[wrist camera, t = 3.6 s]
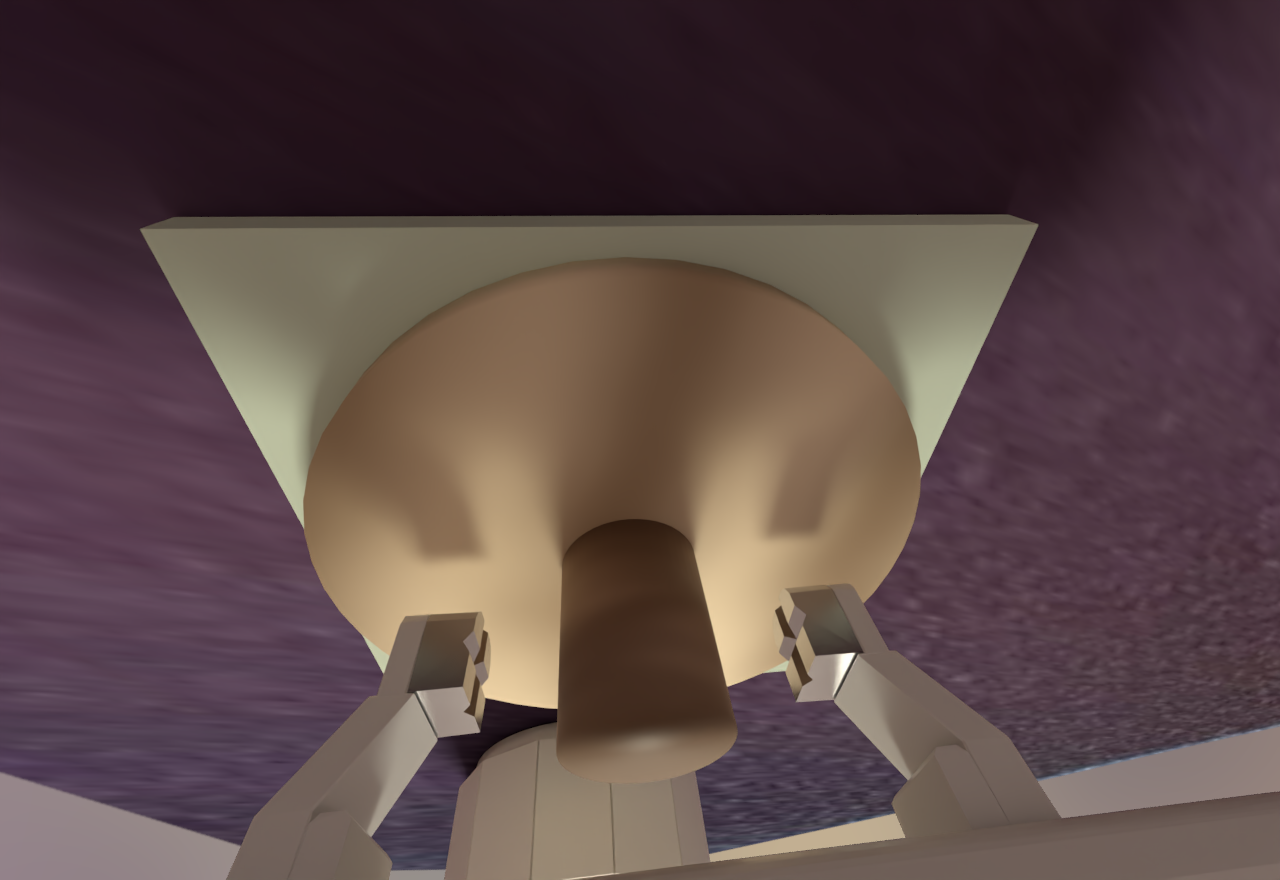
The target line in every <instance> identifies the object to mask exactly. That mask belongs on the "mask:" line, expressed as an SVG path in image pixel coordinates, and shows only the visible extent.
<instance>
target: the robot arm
mask: <svg viewBox="0 0 1280 880" xmlns="http://www.w3.org/2000/svg"><path fill="white" fill-rule="evenodd" d="M779 601H780V604H781V606H780V607H779V608H777V609H776V610H775V612H774V616H773V634H774V639H775V643H776V646H777V649H778V652H779V653H780V654H781V655H782V656H783V657H784V658H785V659H787V660H788V661H789V663H788V666H787V669H786V675H787V678H788V680H789V683H790V686H791V689H792V692H793V695H794V697H795V700H796V702H805V701H820V700H835V701H834V702H835V703H836V704H837V705H838V707H839V708H840V709H841V710H842V711H843V712H844V713H845V714H846V715H847V716H848V717H849V718H850V719H851V720H852V721H853V722H854V723H855V725H856V726H857V727H858V728H859V729H860V730H861V731H862V732H863V733H864V734H865V735H866V736H867V737H868V738H869V739H870V740H871V742H872V743H873V744H874V745H875V746H876V747H877V748H878V749H879V750H880V751H881V752H882V753H883V754H884V755H885V756H886V757H887V758H888V760H889V761H890V762H891V763H892V764H893V765H894V766H895V767H896V768H897V769H898V770H899V771H900V772H901V773H902V774H903V775H904V777H905V778H906V779H907V780H908V781H907V782H906V783H905V785H904V786H903V787H902V788H901V789H900V791H899V792H898V793H897V794H896V795H895V797H894V799H893V802H892V806H893V808H894V811H895V813H896V815H897V818H898V820H899V823H900V825H901V827H902V830H903V832H904V834H905V837H906V838H901V839H893V840H885V841H877V842H869V843H862V844H854V845H845V846H837V847H829V848H821V849H813V850H805V851H797V852H789V853H781V854H773V855H765V856H757V857H749V858H741V859H732V860H724V861H716V862H708V863H700V864H692V865H684V866H676V867H668V868H660V869H652V870H644V871H636V872H628V873H620V874H612V875H604V876H596V877H588V878H580V879H572V880H1280V792H1270V793H1262V794H1254V795H1246V796H1238V797H1230V798H1222V799H1214V800H1206V801H1198V802H1191V803H1183V804H1174V805H1167V806H1158V807H1150V808H1142V809H1134V810H1126V811H1118V812H1110V813H1102V814H1094V815H1086V816H1078V817H1070V818H1061V817H1060V815H1059V814H1058V812H1057V811H1056V809H1055V808H1054V806H1053V805H1052V803H1051V802H1050V800H1049V798H1048V797H1047V795H1046V794H1045V792H1044V791H1043V789H1042V788H1041V786H1040V785H1039V783H1038V781H1037V780H1036V778H1035V777H1034V775H1033V774H1032V772H1031V771H1030V769H1029V768H1028V766H1027V765H1026V763H1025V761H1024V760H1023V758H1022V757H1021V755H1020V754H1019V752H1018V751H1017V749H1016V748H1015V746H1014V745H1013V743H1012V741H1011V740H1010V738H1009V737H1008V736H1006V735H1005V734H1004V733H1002V732H1001V731H1000V730H998V729H997V728H996V727H995V726H993V725H992V724H991V723H989V722H988V721H987V720H985V719H984V718H983V717H982V716H980V715H979V714H978V713H976V712H975V711H974V710H972V709H971V708H970V707H969V706H967V705H966V704H965V703H963V702H962V701H961V700H959V699H958V698H957V697H956V696H954V695H953V694H952V693H950V692H949V691H948V690H946V689H945V688H944V687H942V686H941V685H940V684H939V683H937V682H936V681H935V680H933V679H932V678H931V677H929V676H928V675H927V674H926V673H924V672H923V671H922V670H920V669H919V668H918V667H916V666H915V665H914V664H913V663H911V662H910V661H909V660H907V659H906V658H905V657H903V656H902V655H901V654H900V653H898V652H897V651H889V650H888V648H887V646H886V644H885V642H884V641H883V639H882V637H881V635H880V633H879V632H878V630H877V628H876V626H875V624H874V622H873V621H872V619H871V617H870V615H869V613H868V612H867V610H866V608H865V606H864V604H863V602H862V601H861V599H860V597H859V595H858V593H857V592H856V590H855V588H854V587H853V586H852V585H851V584H847V583H844V584H834V585H815V586H804V587H793V588H784V589H783V590H781V592H780V595H779ZM484 621H485V620H484V617H483V614H482V611H479V612H463V613H447V614H427V615H414V616H405V618H404V619H403V621H402V622H401V624H400V626H399V629H398V632H397V635H396V638H395V641H394V644H393V648H392V651H391V654H390V657H389V660H388V663H387V666H386V669H385V672H384V675H383V678H382V681H381V684H380V687H379V690H378V693H377V696H371V697H368V698H367V699H366V700H365V701H364V702H363V703H362V704H361V705H360V707H359V708H358V709H357V710H356V711H355V712H354V713H353V714H352V715H351V716H350V717H349V718H348V719H347V720H346V721H345V722H344V723H343V724H342V725H341V726H340V727H339V729H338V730H337V731H336V732H335V733H334V734H333V735H332V736H331V737H330V738H329V739H328V740H327V741H326V742H325V743H324V744H323V745H322V746H321V747H320V748H319V749H318V750H317V752H316V753H315V754H314V755H313V756H312V757H311V758H310V759H309V760H308V761H307V762H306V763H305V764H304V765H303V766H302V767H301V768H300V769H299V770H298V771H297V772H296V774H295V775H294V776H293V777H292V778H291V779H290V780H289V781H288V782H287V783H286V784H285V785H284V786H283V787H282V788H281V789H280V790H279V791H278V792H277V793H276V794H275V796H274V797H273V798H272V799H271V800H270V801H269V802H268V803H267V804H266V805H265V806H264V807H263V808H262V809H261V810H260V811H259V812H258V813H257V814H256V815H255V816H254V818H253V820H252V822H251V825H250V827H249V829H248V832H247V834H246V836H245V838H244V841H243V843H242V845H241V847H240V850H239V852H238V854H237V856H236V859H235V861H234V863H233V866H232V868H231V870H230V872H229V875H228V877H227V879H226V880H389V876H390V871H391V867H392V861H391V860H390V858H389V856H388V855H387V854H386V853H385V851H384V850H383V849H382V848H381V847H380V846H379V845H378V844H377V843H376V842H375V841H374V840H373V839H372V838H371V836H372V835H373V834H374V832H375V831H376V829H377V828H378V826H379V825H380V823H381V822H382V821H383V819H384V818H385V816H386V815H387V813H388V812H389V810H390V809H391V807H392V806H393V805H394V803H395V802H396V800H397V799H398V797H399V796H400V794H401V793H402V791H403V790H404V789H405V787H406V786H407V784H408V783H409V781H410V780H411V778H412V777H413V775H414V774H415V773H416V771H417V770H418V768H419V767H420V765H421V764H422V762H423V761H424V760H425V758H426V757H427V755H428V754H429V752H430V751H431V749H432V748H433V746H434V745H435V744H436V742H437V738H439V737H447V736H455V735H463V734H471V733H479V732H480V730H481V724H482V718H483V711H484V705H485V696H484V693H483V690H482V687H481V686H482V685H483V684H484V683H485V681H486V680H487V679H488V678H489V671H490V663H491V645H490V638H489V634H488V632H486V631H484V630H483V627H484Z"/></svg>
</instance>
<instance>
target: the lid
mask: <svg viewBox="0 0 1280 880" xmlns="http://www.w3.org/2000/svg"><path fill="white" fill-rule="evenodd" d="M920 478H921V463H920V456H919V450H918V444H917V437H916V434H915V431H914V429H913V426H912V423H911V421H910V418H909V415H908V413H907V410H906V407H905V405H904V404H903V402H902V401H901V399H900V397H899V396H898V394H897V392H896V391H895V389H894V388H893V386H892V384H891V383H890V381H889V380H888V378H887V377H886V376H885V375H884V374H883V372H882V371H881V370H880V369H879V368H878V367H877V366H876V365H875V364H874V363H873V362H872V361H871V359H870V358H869V357H868V356H867V355H866V354H865V353H864V352H863V351H862V350H861V349H860V348H859V347H858V346H857V345H856V344H855V343H854V342H853V341H852V340H851V339H850V338H849V337H848V336H847V335H846V334H845V333H843V332H842V331H841V330H840V329H839V328H838V327H837V326H835V325H834V324H833V323H831V322H830V321H829V320H827V319H826V318H825V317H823V316H822V315H821V314H820V313H818V312H817V311H816V310H814V309H813V308H812V307H810V306H809V305H808V304H806V303H804V302H802V301H800V300H798V299H796V298H794V297H792V296H791V295H789V294H787V293H785V292H783V291H781V290H779V289H777V288H775V287H773V286H772V285H770V284H767V283H764V282H761V281H758V280H755V279H752V278H750V277H747V276H744V275H741V274H738V273H735V272H732V271H729V270H726V269H722V268H717V267H712V266H706V265H701V264H696V263H691V262H685V261H680V260H671V259H651V258H632V257H620V258H608V259H596V260H584V261H572V262H567V263H563V264H558V265H554V266H549V267H545V268H540V269H536V270H531V271H527V272H522V273H519V274H516V275H513V276H511V277H508V278H505V279H503V280H500V281H497V282H494V283H492V284H489V285H486V286H484V287H481V288H478V289H476V290H473V291H471V292H469V293H467V294H465V295H463V296H462V297H460V298H458V299H456V300H454V301H452V302H451V303H449V304H447V305H445V306H443V307H441V308H440V309H438V310H436V311H434V312H432V313H430V314H429V315H427V316H426V317H425V318H423V319H422V320H421V321H420V322H418V323H417V324H416V325H414V326H413V327H412V328H410V329H409V330H408V331H406V332H405V333H404V334H402V335H401V336H400V337H399V338H397V339H396V340H395V341H393V342H392V343H391V344H390V345H389V346H388V348H387V349H386V350H385V351H384V352H383V353H382V354H381V355H380V356H379V357H378V358H377V359H376V360H375V361H374V362H373V363H372V365H371V366H370V367H369V368H368V369H367V370H366V371H365V372H364V373H363V375H362V376H361V377H360V379H359V380H358V381H357V383H356V384H355V386H354V387H353V388H352V390H351V391H350V392H349V394H348V395H347V397H346V398H345V399H344V401H343V402H342V404H341V405H340V407H339V409H338V410H337V412H336V413H335V415H334V416H333V418H332V419H331V421H330V422H329V424H328V426H327V427H326V429H325V430H324V432H323V433H322V436H321V438H320V441H319V443H318V446H317V448H316V451H315V453H314V456H313V458H312V461H311V463H310V466H309V469H308V475H307V481H306V487H305V493H304V499H303V511H304V533H305V537H306V541H307V545H308V549H309V553H310V557H311V561H312V563H313V566H314V568H315V570H316V572H317V574H318V576H319V578H320V581H321V583H322V585H323V587H324V589H325V590H326V592H327V593H328V595H329V596H330V598H331V599H332V601H333V602H334V603H335V605H336V606H337V608H338V609H339V611H340V612H341V613H342V614H343V615H344V616H345V617H346V618H347V620H348V621H349V622H350V623H351V624H352V625H353V626H354V627H355V628H356V629H357V630H358V631H359V632H360V633H361V634H362V635H363V636H364V637H366V638H367V639H368V640H369V641H371V642H372V643H373V644H374V645H376V646H377V647H378V648H379V649H381V650H382V651H383V652H385V653H386V654H388V655H389V656H390V654H391V651H392V648H393V644H394V641H395V638H396V635H397V632H398V629H399V626H400V624H401V622H402V621H403V619H404V618H405V616H414V615H427V614H447V613H463V612H479V611H482V614H483V617H484V620H485V621H484V627H483V630H484V631H486V632H488V634H489V638H490V645H491V663H490V671H489V678H488V679H487V680H486V681H485V683H484V684H483V685H482V686H481V687H482V690H483V693H484V696H485V698H489V699H494V700H499V701H503V702H508V703H513V704H519V705H526V706H534V707H541V708H553V709H558V710H557V740H556V756H557V759H558V761H559V763H560V764H561V766H562V767H564V768H565V769H566V770H567V771H569V772H570V773H572V774H574V775H576V776H578V777H581V778H584V779H588V780H592V781H597V782H603V783H614V784H636V783H647V782H654V781H660V780H665V779H670V778H674V777H678V776H681V775H685V774H688V773H690V772H693V771H696V770H698V769H700V768H703V767H705V766H707V765H709V764H711V763H712V762H714V761H716V760H717V759H719V758H720V757H721V756H723V755H724V754H725V753H726V752H727V751H728V750H729V749H730V748H731V747H732V745H733V744H734V743H735V740H736V738H737V732H738V731H737V725H736V721H735V717H734V713H733V709H732V705H731V701H730V697H729V693H728V689H727V687H728V686H731V685H734V684H737V683H739V682H742V681H744V680H747V679H749V678H751V677H754V676H756V675H759V674H761V673H764V672H766V671H768V670H770V669H772V668H774V667H776V666H778V665H780V664H782V663H784V662H786V661H788V660H787V659H785V658H784V657H783V656H782V655H781V654H780V653H779V652H778V649H777V646H776V643H775V639H774V634H773V616H774V612H775V610H776V609H777V608H779V607H780V606H781V604H780V601H779V595H780V592H781V590H783V589H784V588H793V587H804V586H815V585H834V584H844V583H847V584H851V585H852V586H853V587H854V588H855V590H856V592H857V593H858V595H859V597H860V599H861V601H862V602H863V603H864V602H865V601H866V600H867V599H868V598H869V597H870V596H871V595H872V594H873V593H874V592H875V590H876V589H877V588H878V586H879V585H880V584H881V582H882V581H883V580H884V578H885V577H886V576H887V574H888V573H889V572H890V570H891V569H892V567H893V565H894V563H895V562H896V560H897V558H898V556H899V555H900V553H901V551H902V549H903V548H904V545H905V543H906V540H907V538H908V535H909V533H910V530H911V528H912V525H913V523H914V519H915V514H916V510H917V505H918V501H919V496H920Z"/></svg>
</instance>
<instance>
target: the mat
mask: <svg viewBox="0 0 1280 880" xmlns="http://www.w3.org/2000/svg"><path fill="white" fill-rule="evenodd" d="M1038 225H1039V224H1036V223H1033V222H1030V221H1027V220H1023V219H1020V218H1017V217H1014V216H1011V215H691V216H356V217H172V218H170V219H167V220H164V221H161V222H158V223H155V224H152V225H149V226H147V227H144V228H141V229H140V231H141V232H142V234H143V236H144V238H145V240H146V242H147V243H148V245H149V247H150V249H151V251H152V252H153V254H154V256H155V258H156V260H157V262H158V263H159V265H160V267H161V269H162V271H163V272H164V274H165V276H166V278H167V280H168V282H169V283H170V285H171V287H172V289H173V291H174V293H175V294H176V296H177V298H178V300H179V302H180V303H181V305H182V307H183V309H184V311H185V313H186V314H187V316H188V318H189V320H190V322H191V324H192V325H193V327H194V329H195V331H196V333H197V334H198V336H199V338H200V340H201V342H202V344H203V345H204V347H205V349H206V351H207V353H208V355H209V356H210V358H211V360H212V362H213V364H214V365H215V367H216V369H217V371H218V373H219V375H220V376H221V378H222V380H223V382H224V384H225V385H226V387H227V389H228V391H229V393H230V395H231V396H232V398H233V400H234V402H235V404H236V406H237V407H238V409H239V411H240V413H241V415H242V416H243V418H244V420H245V422H246V424H247V426H248V427H249V429H250V431H251V433H252V435H253V437H254V438H255V440H256V442H257V444H258V446H259V447H260V449H261V451H262V453H263V455H264V457H265V458H266V460H267V462H268V464H269V466H270V468H271V469H272V471H273V473H274V475H275V477H276V478H277V480H278V482H279V484H280V486H281V488H282V489H283V491H284V493H285V495H286V497H287V498H288V500H289V502H290V504H291V506H292V508H293V509H294V511H295V513H296V515H297V517H298V519H299V520H300V522H301V524H302V526H303V528H304V511H303V499H304V493H305V487H306V481H307V475H308V469H309V466H310V463H311V461H312V458H313V456H314V453H315V451H316V448H317V446H318V443H319V441H320V438H321V436H322V433H323V432H324V430H325V429H326V427H327V426H328V424H329V422H330V421H331V419H332V418H333V416H334V415H335V413H336V412H337V410H338V409H339V407H340V405H341V404H342V402H343V401H344V399H345V398H346V397H347V395H348V394H349V392H350V391H351V390H352V388H353V387H354V386H355V384H356V383H357V381H358V380H359V379H360V377H361V376H362V375H363V373H364V372H365V371H366V370H367V369H368V368H369V367H370V366H371V365H372V363H373V362H374V361H375V360H376V359H377V358H378V357H379V356H380V355H381V354H382V353H383V352H384V351H385V350H386V349H387V348H388V346H389V345H390V344H391V343H392V342H393V341H395V340H396V339H397V338H399V337H400V336H401V335H402V334H404V333H405V332H406V331H408V330H409V329H410V328H412V327H413V326H414V325H416V324H417V323H418V322H420V321H421V320H422V319H423V318H425V317H426V316H427V315H429V314H430V313H432V312H434V311H436V310H438V309H440V308H441V307H443V306H445V305H447V304H449V303H451V302H452V301H454V300H456V299H458V298H460V297H462V296H463V295H465V294H467V293H469V292H471V291H473V290H476V289H478V288H481V287H484V286H486V285H489V284H492V283H494V282H497V281H500V280H503V279H505V278H508V277H511V276H513V275H516V274H519V273H522V272H527V271H531V270H536V269H540V268H545V267H549V266H554V265H558V264H563V263H567V262H572V261H584V260H596V259H608V258H620V257H632V258H651V259H671V260H680V261H685V262H691V263H696V264H701V265H706V266H712V267H717V268H722V269H726V270H729V271H732V272H735V273H738V274H741V275H744V276H747V277H750V278H752V279H755V280H758V281H761V282H764V283H767V284H770V285H772V286H773V287H775V288H777V289H779V290H781V291H783V292H785V293H787V294H789V295H791V296H792V297H794V298H796V299H798V300H800V301H802V302H804V303H806V304H808V305H809V306H810V307H812V308H813V309H814V310H816V311H817V312H818V313H820V314H821V315H822V316H823V317H825V318H826V319H827V320H829V321H830V322H831V323H833V324H834V325H835V326H837V327H838V328H839V329H840V330H841V331H842V332H843V333H845V334H846V335H847V336H848V337H849V338H850V339H851V340H852V341H853V342H854V343H855V344H856V345H857V346H858V347H859V348H860V349H861V350H862V351H863V352H864V353H865V354H866V355H867V356H868V357H869V358H870V359H871V361H872V362H873V363H874V364H875V365H876V366H877V367H878V368H879V369H880V370H881V371H882V372H883V374H884V375H885V376H886V377H887V378H888V380H889V381H890V383H891V384H892V386H893V388H894V389H895V391H896V392H897V394H898V396H899V397H900V399H901V401H902V402H903V404H904V405H905V407H906V410H907V413H908V415H909V418H910V421H911V423H912V426H913V429H914V431H915V434H916V437H917V444H918V450H919V456H920V463H921V476H922V474H923V472H924V470H925V468H926V465H927V463H928V461H929V459H930V457H931V455H932V452H933V450H934V448H935V446H936V444H937V442H938V440H939V437H940V435H941V433H942V431H943V429H944V427H945V425H946V422H947V420H948V418H949V416H950V414H951V412H952V410H953V407H954V405H955V403H956V401H957V399H958V397H959V395H960V392H961V390H962V388H963V386H964V384H965V382H966V380H967V377H968V375H969V373H970V371H971V369H972V367H973V365H974V362H975V360H976V358H977V356H978V354H979V352H980V350H981V347H982V345H983V343H984V341H985V339H986V337H987V335H988V332H989V330H990V328H991V326H992V324H993V322H994V320H995V317H996V315H997V313H998V311H999V309H1000V307H1001V305H1002V302H1003V300H1004V298H1005V296H1006V294H1007V292H1008V289H1009V287H1010V285H1011V283H1012V281H1013V279H1014V277H1015V274H1016V272H1017V270H1018V268H1019V266H1020V264H1021V262H1022V259H1023V257H1024V255H1025V253H1026V251H1027V249H1028V247H1029V244H1030V242H1031V240H1032V238H1033V236H1034V234H1035V232H1036V229H1037V227H1038ZM363 637H364V636H363ZM364 639H365V641H366V642H367V644H368V646H369V648H370V650H371V652H372V653H373V655H374V657H375V659H376V661H377V663H378V664H379V666H380V668H381V670H382V672H383V673H384V672H385V669H386V666H387V663H388V660H389V657H390V656H389V655H388V654H386V653H385V652H383V651H382V650H381V649H379V648H378V647H377V646H376V645H374V644H373V643H372V642H371V641H369V640H368V639H367V638H366V637H364ZM788 663H789V661H786V662H784V663H782V664H780V665H778V666H776V667H774V668H772V669H770V670H768V671H766V672H777V671H786V669H787V666H788ZM766 672H764V673H766Z"/></svg>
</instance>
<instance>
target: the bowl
mask: <svg viewBox="0 0 1280 880" xmlns="http://www.w3.org/2000/svg"><path fill="white" fill-rule="evenodd" d="M556 740H557V722H555V723H550V724H545V725H541V726H537V727H533V728H530V729H527V730H524V731H521V732H518V733H516V734H513V735H511V736H509V737H507V738H505V739H503V740H501V741H499V742H498V743H496V744H495V745H493V746H492V747H490V748H489V749H488V750H487V751H486V752H485V753H484V754H483V755H482V757H481V758H480V759H479V761H478V764H477V767H476V769H475V770H474V771H473V772H472V774H471V775H470V776H469V777H468V778H467V779H466V780H465V782H464V783H463V784H462V785H461V786H460V787H459V793H458V799H457V805H456V811H455V817H454V823H453V829H452V835H451V841H450V847H449V853H448V859H447V865H446V872H445V877H444V880H572V879H580V878H588V877H596V876H604V875H612V874H620V873H628V872H636V871H644V870H652V869H660V868H668V867H676V866H684V865H692V864H700V863H708V862H710V858H709V852H708V846H707V840H706V834H705V828H704V822H703V816H702V810H701V804H700V798H699V792H698V786H697V780H696V774H695V771H693V772H690V773H688V774H685V775H681V776H678V777H674V778H670V779H665V780H660V781H654V782H647V783H636V784H614V783H603V782H597V781H592V780H588V779H584V778H581V777H578V776H576V775H574V774H572V773H570V772H569V771H567V770H566V769H565V768H564V767H562V766H561V764H560V763H559V761H558V759H557V756H556Z"/></svg>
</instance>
